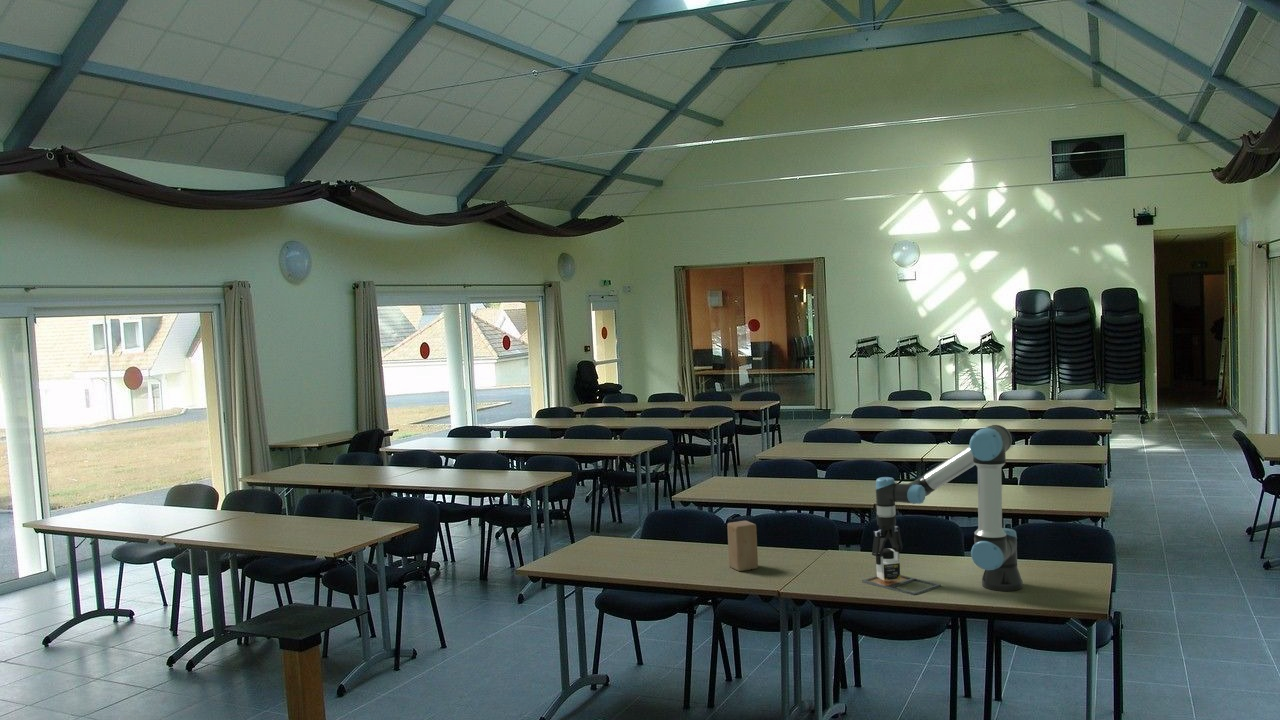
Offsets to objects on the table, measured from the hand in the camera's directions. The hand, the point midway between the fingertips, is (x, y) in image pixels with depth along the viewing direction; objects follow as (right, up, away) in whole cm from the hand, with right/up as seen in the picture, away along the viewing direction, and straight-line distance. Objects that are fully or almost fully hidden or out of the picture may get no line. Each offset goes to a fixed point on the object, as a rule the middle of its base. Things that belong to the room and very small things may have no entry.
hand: (888, 569), depth 399 cm
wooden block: (-56, -6, +31) cm, 64 cm away
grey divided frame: (+4, -5, -5) cm, 8 cm away
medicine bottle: (0, -4, 0) cm, 4 cm away
